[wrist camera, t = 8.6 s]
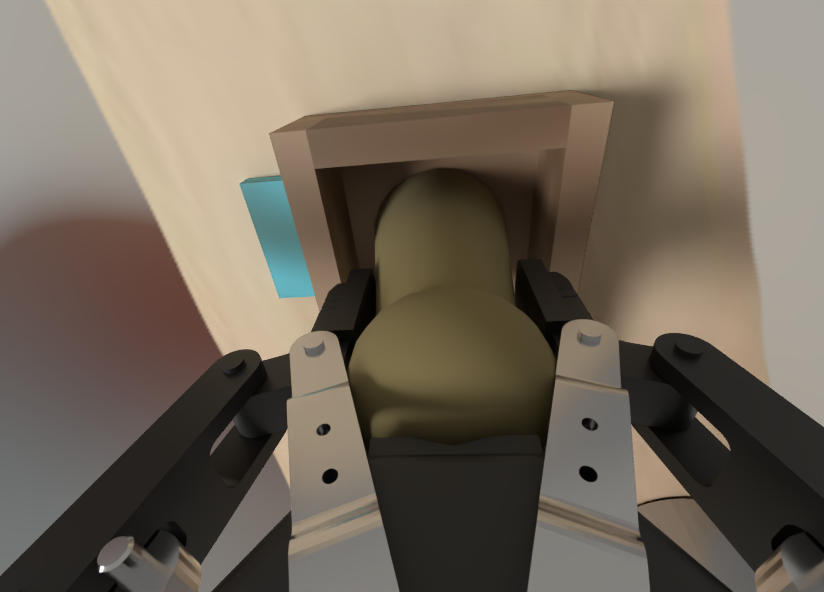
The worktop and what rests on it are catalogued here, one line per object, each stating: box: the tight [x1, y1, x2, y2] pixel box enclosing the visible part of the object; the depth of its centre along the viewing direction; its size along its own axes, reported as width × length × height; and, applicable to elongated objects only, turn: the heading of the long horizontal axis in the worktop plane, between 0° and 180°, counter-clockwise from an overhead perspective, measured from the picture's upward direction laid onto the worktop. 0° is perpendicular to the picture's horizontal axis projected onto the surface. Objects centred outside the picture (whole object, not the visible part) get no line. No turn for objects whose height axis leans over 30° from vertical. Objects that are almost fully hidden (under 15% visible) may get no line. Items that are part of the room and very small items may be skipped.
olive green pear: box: [346, 169, 557, 451], centre depth 12 cm, size 6×6×11 cm
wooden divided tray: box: [240, 90, 614, 311], centre depth 18 cm, size 20×14×4 cm
